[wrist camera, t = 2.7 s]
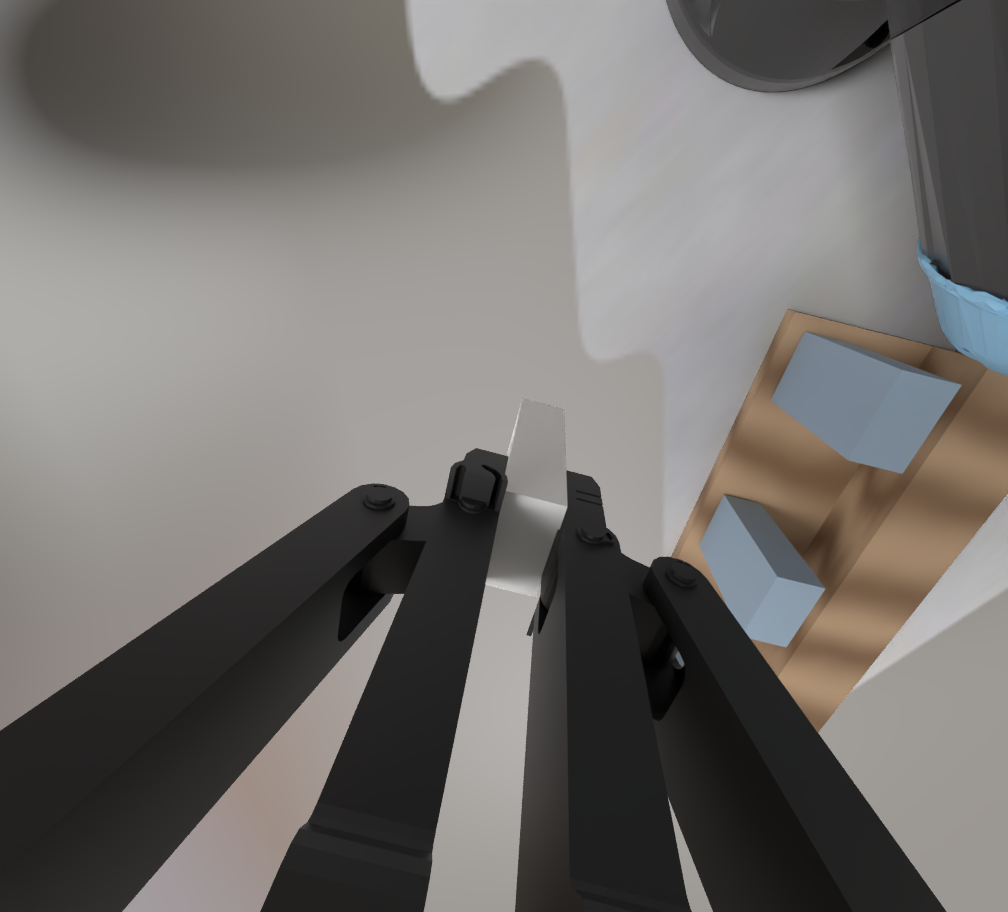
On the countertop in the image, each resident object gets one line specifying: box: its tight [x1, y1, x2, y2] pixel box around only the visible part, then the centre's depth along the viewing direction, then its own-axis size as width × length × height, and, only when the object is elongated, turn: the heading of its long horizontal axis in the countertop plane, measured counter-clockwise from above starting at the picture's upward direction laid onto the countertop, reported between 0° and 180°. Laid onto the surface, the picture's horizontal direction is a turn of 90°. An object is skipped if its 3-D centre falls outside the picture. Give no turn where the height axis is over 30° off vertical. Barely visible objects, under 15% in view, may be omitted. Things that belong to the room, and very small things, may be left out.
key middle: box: [699, 495, 826, 647], centre depth 35 cm, size 5×3×10 cm, turn 167°
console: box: [671, 310, 1008, 732], centre depth 38 cm, size 33×16×6 cm, turn 167°
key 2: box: [771, 331, 961, 474], centre depth 29 cm, size 5×3×10 cm, turn 167°
